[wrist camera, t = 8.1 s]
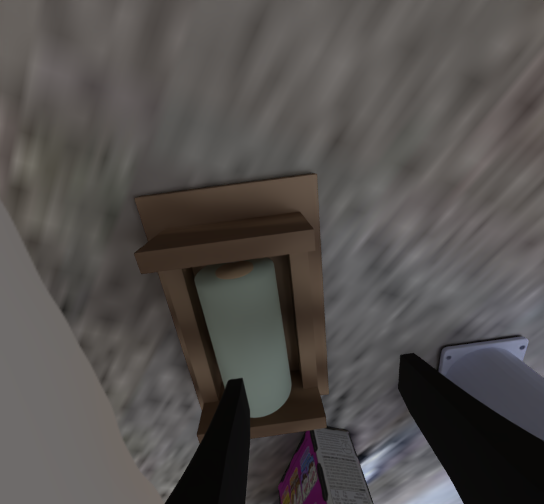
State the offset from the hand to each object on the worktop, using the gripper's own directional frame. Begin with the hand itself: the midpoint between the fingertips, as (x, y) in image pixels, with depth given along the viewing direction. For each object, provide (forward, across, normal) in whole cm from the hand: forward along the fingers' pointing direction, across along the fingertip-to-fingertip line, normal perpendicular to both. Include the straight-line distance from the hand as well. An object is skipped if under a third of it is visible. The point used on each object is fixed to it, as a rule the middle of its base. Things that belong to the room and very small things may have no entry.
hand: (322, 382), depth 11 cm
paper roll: (+6, +4, +2) cm, 7 cm away
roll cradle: (+10, +4, +2) cm, 10 cm away
